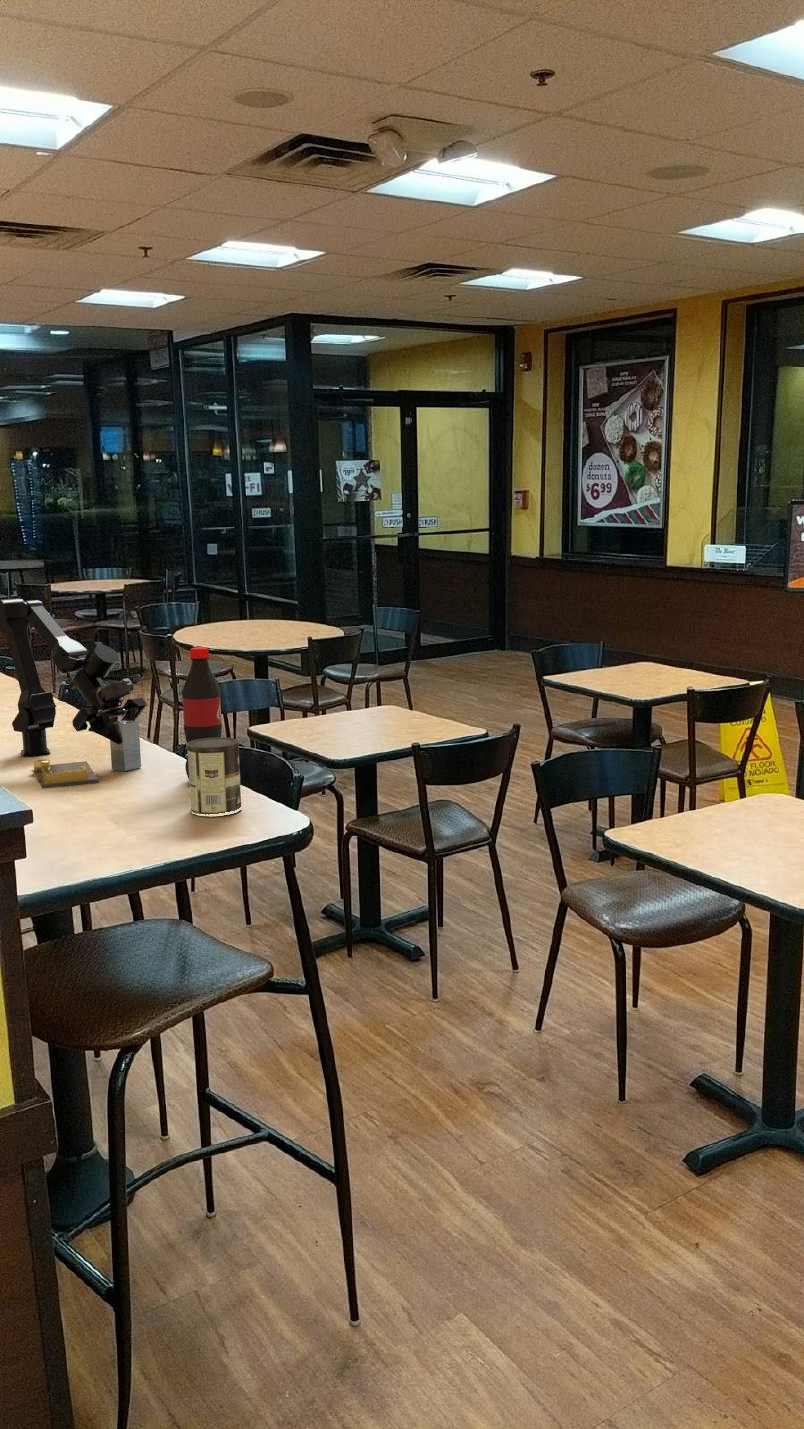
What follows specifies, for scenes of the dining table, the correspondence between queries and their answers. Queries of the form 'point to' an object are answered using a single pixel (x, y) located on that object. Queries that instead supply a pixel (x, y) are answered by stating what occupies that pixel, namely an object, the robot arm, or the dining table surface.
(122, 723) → the link block
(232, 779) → the coffee can
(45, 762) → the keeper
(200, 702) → the cola bottle
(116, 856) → the dining table surface
